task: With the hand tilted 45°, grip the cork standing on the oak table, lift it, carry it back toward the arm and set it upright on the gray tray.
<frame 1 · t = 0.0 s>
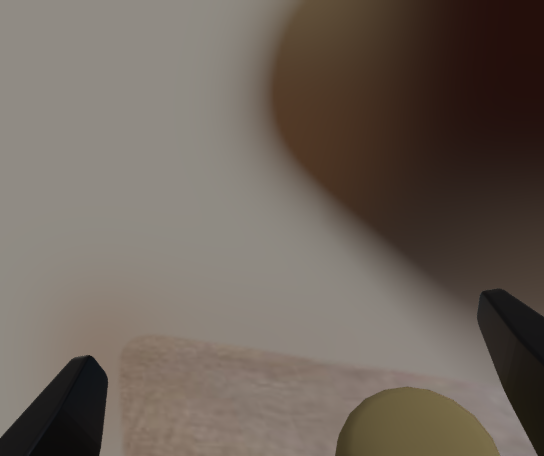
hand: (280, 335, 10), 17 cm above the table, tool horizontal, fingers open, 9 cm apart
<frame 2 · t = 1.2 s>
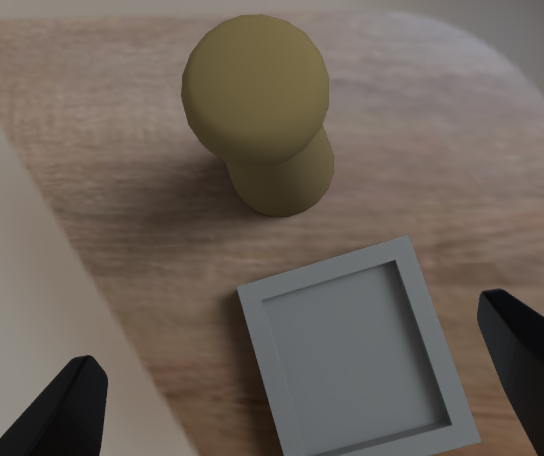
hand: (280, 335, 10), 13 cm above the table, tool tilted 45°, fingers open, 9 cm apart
gray tray: (349, 352, 22), on the table
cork: (281, 165, 24), on the table
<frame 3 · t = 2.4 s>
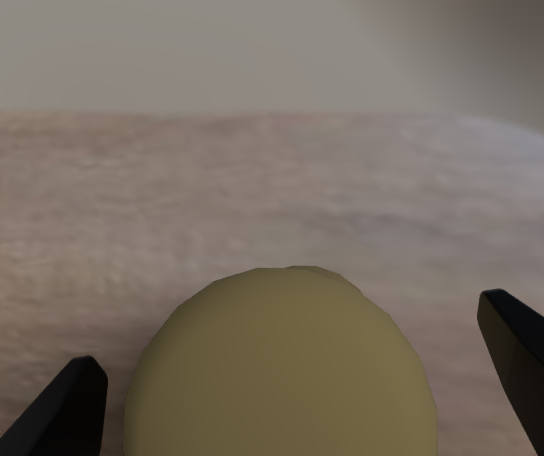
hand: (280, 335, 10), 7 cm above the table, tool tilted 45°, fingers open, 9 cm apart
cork: (303, 341, 17), on the table
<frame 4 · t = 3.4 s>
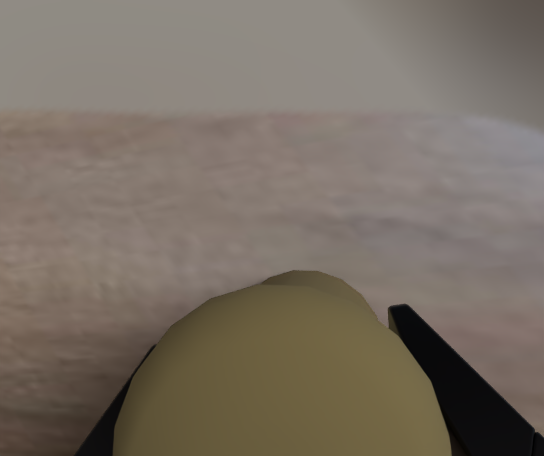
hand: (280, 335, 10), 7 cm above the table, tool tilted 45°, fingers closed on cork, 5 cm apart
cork: (304, 348, 16), on the table, touching gripper
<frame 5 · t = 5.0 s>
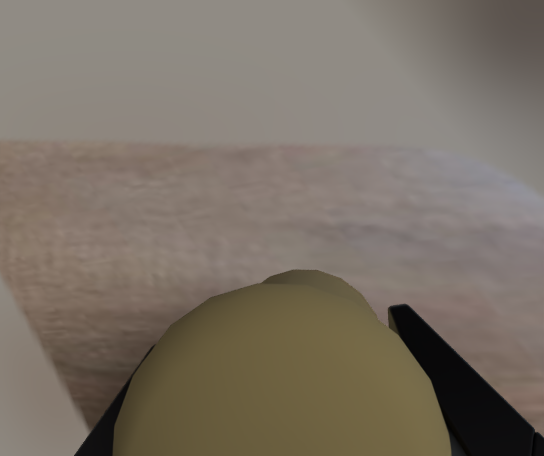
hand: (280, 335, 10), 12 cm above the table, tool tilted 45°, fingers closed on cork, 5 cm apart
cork: (304, 347, 16), point 5 cm above the table, touching gripper
when the fingers open (9 cm above the table, at t = 6.9 s): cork drops 1 cm, resting on gray tray.
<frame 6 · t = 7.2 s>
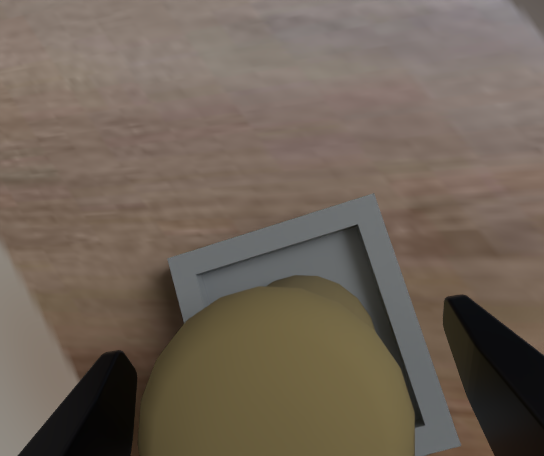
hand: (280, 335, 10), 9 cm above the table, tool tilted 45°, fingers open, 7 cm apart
gray tray: (306, 338, 19), on the table
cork: (304, 347, 17), point 1 cm above the table, touching gray tray
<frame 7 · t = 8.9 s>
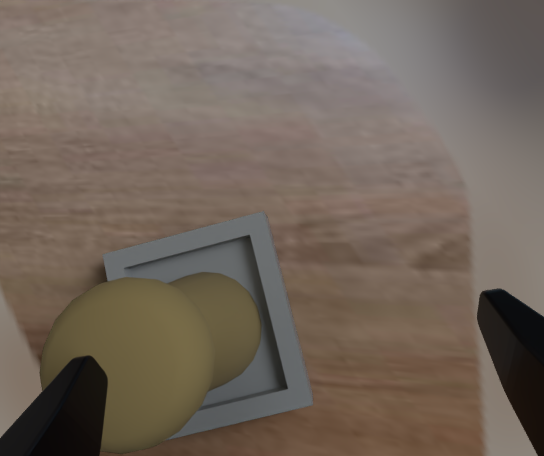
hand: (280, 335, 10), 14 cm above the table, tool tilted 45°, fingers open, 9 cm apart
gray tray: (211, 322, 23), on the table
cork: (206, 328, 22), point 1 cm above the table, touching gray tray
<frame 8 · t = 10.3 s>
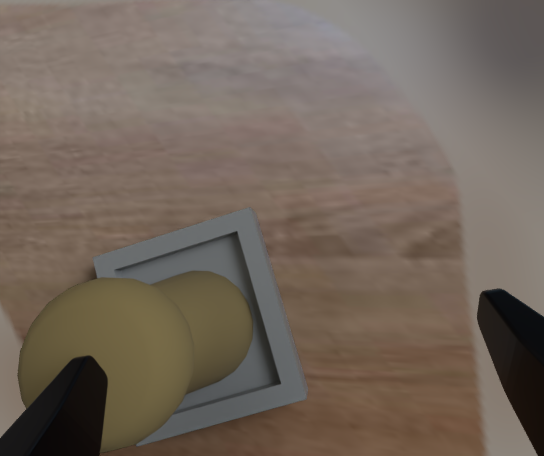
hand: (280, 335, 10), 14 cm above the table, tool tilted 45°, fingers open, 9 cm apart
gray tray: (204, 320, 23), on the table
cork: (198, 326, 22), point 1 cm above the table, touching gray tray
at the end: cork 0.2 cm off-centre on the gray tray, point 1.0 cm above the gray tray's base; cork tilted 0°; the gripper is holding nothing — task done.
